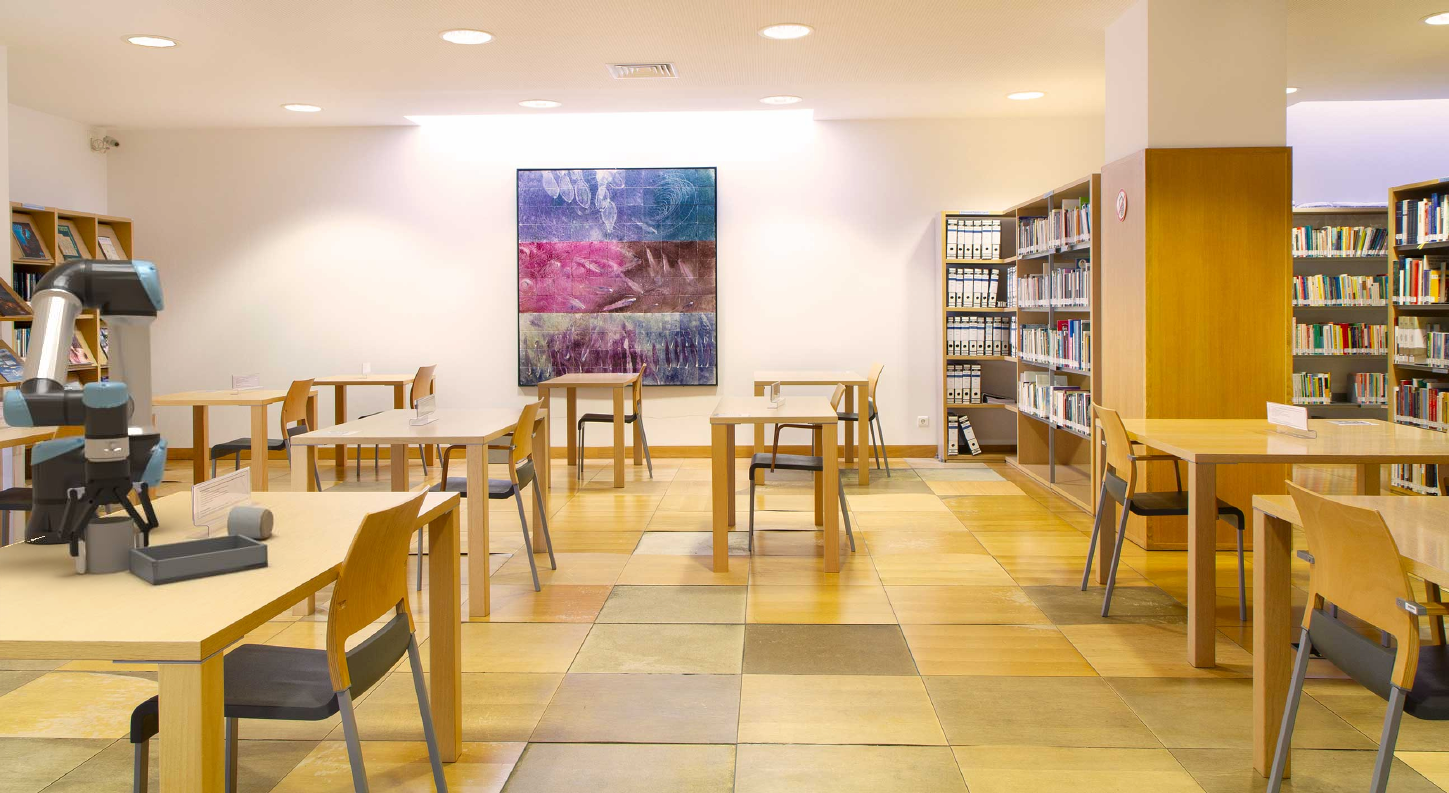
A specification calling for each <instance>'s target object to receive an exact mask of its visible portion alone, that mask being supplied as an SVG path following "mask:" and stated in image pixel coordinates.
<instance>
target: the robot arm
mask: <svg viewBox="0 0 1449 793" xmlns="http://www.w3.org/2000/svg"><path fill="white" fill-rule="evenodd" d="M30 307H31V309H32V311H33V312H34V314H33V317H32V318H33V319H32V323H31V328H30V334H29V340H28V345H27V348H26V349H27V351H26V355H25V360H24V361H25V362H24V365H23V370H22V371H23V372H22V377H21V380H20V381H21V382H20V389H15V390H13V389H12V390H8V391H6V392H5V393H4V396H3V399H2V413H3V414H2V416H3V419H4V423H6V425H7V426H9V427H11V428H12V427H15V428H31V429H32V428H39V427H40V428H43V427H44V428H45V427H46V428H47V427H70V426H71V427H77V426H78V427H79V426H80V427H83V426H84V435H73V436H66V437H60V438H55V439H54V438H53V439H48V440H45V441H41V442H38V443H36V444H34V446H33V447H31V461H30V466H31V488H32V492H31V493H32V509H31V512H30V514H29V518H28V520H27V522H26V525H25V527H24V528H25V529H24V534H23V536H24V542H26V541H30V542H29V544H38V545H41V544H45V545H47V544H49V545H51V544H52V545H53V544H65V543H69V545H68V546H69V555H70V557H72V558H75V568H76V569H75V571H76V572H77V573H78V574H80V575H81V574H85V553H84V551H85V549H84V547H85V543H84V541H85V527H86V526H87V524H88V522H89V521H90V520H91V519H95V518H101V516H100V514H99V510H98V509H99V507H100V506H101V507H103V506H108V505H119V504H120V505H121V506H122V508H123V509H124V510H125V511H126V513H127V514H128V515H129V516H128V517H132V518H134V525H136V526H137V528H138V529H139V530H136V531H135V530H134V539H135V548H142V547H149V545H150V536H149V534H150V532H151V530H153V529H155V528H156V529H157V528H158V527H159V526H160V525H159V524H160V523H159V521H158V517H157V515H156V513H155V510H154V507H153V504H152V501H151V498H150V495H149V489H150V488H156V487H158V486H159V485H161V483H162V481H163V479H164V475H165V469H166V464H167V463H166V462H167V456H168V454H167V453H168V439H165V438H163V437H161V431H160V430H159V429H158V428H157V427H156V426H154V424H153V394H152V393H153V391H152V390H153V389H152V385H153V384H152V354H151V352H152V350H151V325H152V324H153V323H154V322H155V321H156V320H157V319H158V312H161V311H164V309H165V303H164V294H163V287H162V283H161V278H160V274H159V270H158V268H157V266H156V265H155V264H154V263H153V262H150V261H143V260H134V259H131V260H130V259H129V260H128V259H99V258H85V257H84V258H82V257H81V258H74V259H70V260H67V261H64V262H61V263H60V264H58V265H56V266H54V267H52V269H50V270H48V271H47V272H46V273H45V274H44V275H43V276H42V277H41V278H40V279H39V281H38V282H37V284H36V285H35V287H34V288H33V291H32V293H31V299H30ZM87 309H88V310H98V313H99V318H100V319H101V320H102V321H103V322H105V323H106V326H107V327H106V328H107V360H108V361H107V362H108V363H107V364H108V365H107V366H108V369H107V370H108V381H96V382H94V381H93V382H88V383H85V384H84V385H83V389H66V384H67V378H68V372H69V365H70V357H71V350H72V344H73V340H74V338H73V337H74V332H75V324H76V319H77V318H78V317H79V316H80V315H81V314H82V312H83V310H87ZM132 490H134V492H135V493H137V495H138V499H139V501H140V503H141V506H142V510H143V512H144V515H145V517H146V520H147V522H145V521H144V519H143V518H142V516H141V515H140V513H139V511H138V510H137V509H136V508H135V506H134V505H133V503H132V502H131V500H130V499H129V497H128V495H129V494H130V492H131V491H132ZM42 536H45V537H42ZM39 537H42V538H39ZM35 538H39V539H36V540H34V541H31V539H35ZM32 542H33V543H32ZM26 543H27V542H26Z"/></svg>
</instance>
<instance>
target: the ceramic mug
mask: <svg viewBox="0 0 1449 793" xmlns="http://www.w3.org/2000/svg"><path fill="white" fill-rule="evenodd" d="M274 522H275V521H274V514H273V512H272V511H271V510H270V509H267V508H264V507H253V506H252V507H251V506H250V507H249V506H241V505H240V506H239V505H235V506H234V507H232V508H231V509H230V511H229V513H228V517H227V523H226V531H227V536H228V535H235V534H241V535H243V536H246V537H248V538H251V539H253V540H264V539H267V538H268V537H270V535H271V534H272V531H273V528H274Z"/></svg>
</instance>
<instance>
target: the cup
mask: <svg viewBox="0 0 1449 793" xmlns="http://www.w3.org/2000/svg"><path fill="white" fill-rule="evenodd" d="M84 542H85V543H84V547H85V549H84V551H85V553H84V556H85V572H86V573H87V574H91V575H107V574H108V575H109V574H117V573H122V572H126V571H130V564H129V549H134V548H136V543H135V522H134V518H132V517H130V516H127V515H126V516H125V515H122V516H121V515H120V516H119V515H117V516H103V517H102V516H101V517H100V518H95V519H91V520H90V521H89V522H88V524H87V526H86V527H85V540H84Z"/></svg>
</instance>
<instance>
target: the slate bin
mask: <svg viewBox="0 0 1449 793" xmlns="http://www.w3.org/2000/svg"><path fill="white" fill-rule="evenodd" d="M268 551H269V550H268V544H266V543H264V542H261V541H258V540H257V539H251V538H248V537H246V536H243V535H241V534H235V535H228V534H227V535H222V536H215V537H214V536H213V537H209V538H207V537H206V538H202V539H201V538H200V539H193V540H186V541H179V542H172V543H165V544H164V543H163V544H157V545H156V544H155V545H151V546H149V545H148V547H142V548H136V547H135V548H134V549H129V564H130V570H129V572H130V573H132V574H133V575H135V576H138V577H139V578H141V579H142V580H144V581H145V582H147V583H149V584H151V585H153V586H160V585H165V584H171V583H178V582H183V581H189V580H194V579H200V578H201V579H202V578H206V577H214V576H218V575H224V574H230V573H237V572H244V571H249V570H256V569H259V568H260V569H261V568H266V567H268V565H269V563H268V562H269V559H268V558H269V555H268Z"/></svg>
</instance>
